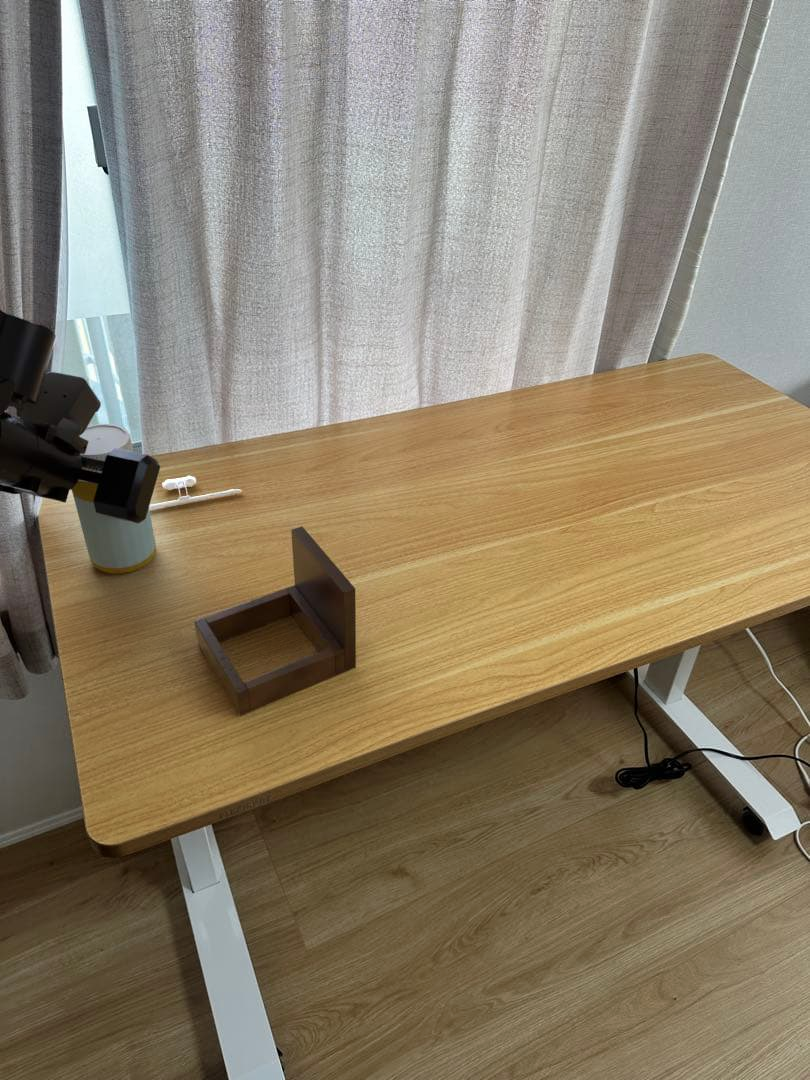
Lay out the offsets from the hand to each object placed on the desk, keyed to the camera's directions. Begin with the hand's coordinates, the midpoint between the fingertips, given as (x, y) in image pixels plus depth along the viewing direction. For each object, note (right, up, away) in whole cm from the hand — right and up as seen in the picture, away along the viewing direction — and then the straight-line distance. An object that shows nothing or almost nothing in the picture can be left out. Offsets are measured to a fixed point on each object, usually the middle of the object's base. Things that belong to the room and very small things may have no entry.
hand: (108, 490), depth 83 cm
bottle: (0, -7, +5) cm, 9 cm away
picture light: (+4, 0, +15) cm, 16 cm away
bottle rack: (+18, -16, -6) cm, 25 cm away
